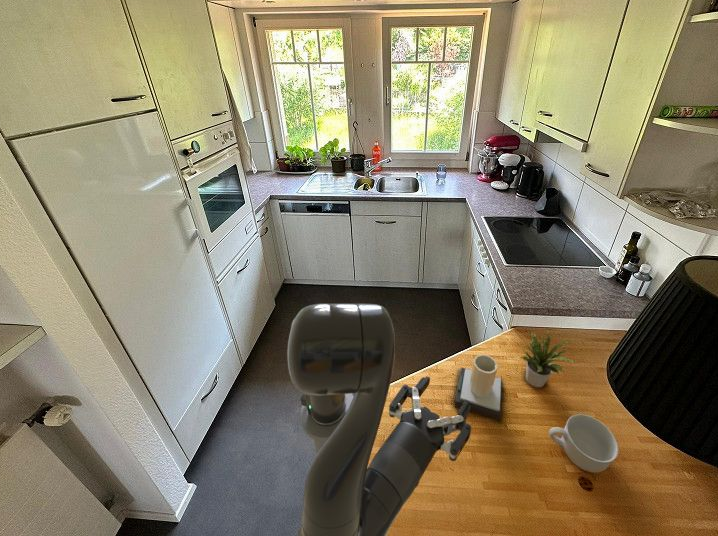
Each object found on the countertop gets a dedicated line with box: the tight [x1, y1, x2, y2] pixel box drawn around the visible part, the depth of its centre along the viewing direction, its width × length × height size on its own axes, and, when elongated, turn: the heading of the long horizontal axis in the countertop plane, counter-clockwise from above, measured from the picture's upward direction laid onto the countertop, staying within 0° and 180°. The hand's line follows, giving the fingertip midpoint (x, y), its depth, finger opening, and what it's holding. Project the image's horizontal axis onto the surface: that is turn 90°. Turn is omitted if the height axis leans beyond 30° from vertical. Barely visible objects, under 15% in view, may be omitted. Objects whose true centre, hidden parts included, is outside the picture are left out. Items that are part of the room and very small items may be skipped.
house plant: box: [519, 329, 576, 388], centre depth 94 cm, size 14×14×16 cm
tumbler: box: [469, 353, 498, 398], centre depth 90 cm, size 6×6×10 cm
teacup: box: [548, 413, 619, 473], centre depth 78 cm, size 14×11×8 cm
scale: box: [454, 367, 503, 421], centre depth 93 cm, size 12×12×3 cm
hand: (447, 390), depth 63 cm, fingers open, 8 cm apart
